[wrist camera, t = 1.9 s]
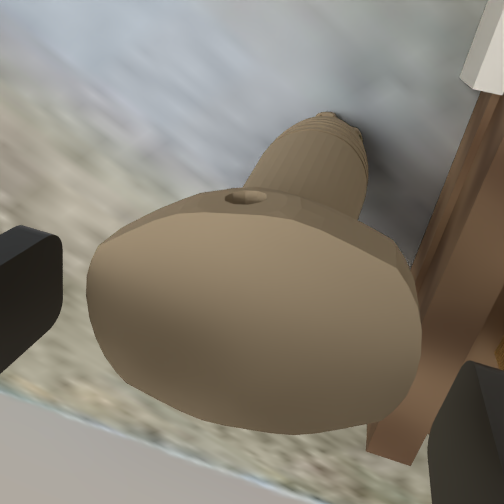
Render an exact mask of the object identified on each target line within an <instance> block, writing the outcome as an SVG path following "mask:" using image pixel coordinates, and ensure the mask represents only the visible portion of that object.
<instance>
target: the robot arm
mask: <svg viewBox="0 0 504 504" xmlns="http://www.w3.org/2000/svg"><path fill="white" fill-rule="evenodd" d="M62 302H63V249H62V242H61V240H60V238H59V237H58V236H56V235H53V234H50V233H47V232H43V231H40V230H36V229H33V228H30V227H26V226H23V225H19V226H16V227H14V228H12V229H10V230H8V231H6V232H4V233H3V234H1V235H0V374H1V373H2V372H3V371H4V370H5V369H6V368H7V367H8V366H10V365H11V364H12V363H13V362H14V361H15V360H16V359H17V358H18V357H19V356H21V355H22V354H23V353H24V352H25V351H26V350H27V349H28V348H29V347H31V346H32V345H33V344H34V343H35V342H36V341H37V340H38V339H39V338H41V337H42V336H43V335H44V334H45V333H46V332H47V331H48V330H49V329H50V328H51V327H52V326H53V325H54V323H55V322H56V320H57V318H58V316H59V314H60V311H61V307H62ZM427 454H428V465H429V476H430V486H431V496H432V504H504V370H501V369H498V368H494V367H491V366H487V365H484V364H481V363H477V362H474V361H471V360H469V361H466V362H465V363H464V364H463V365H462V367H461V369H460V370H459V372H458V374H457V376H456V378H455V380H454V382H453V384H452V386H451V388H450V390H449V392H448V394H447V396H446V398H445V400H444V402H443V404H442V406H441V408H440V410H439V412H438V414H437V415H436V417H435V420H434V422H433V424H432V427H431V431H430V435H429V440H428V452H427Z"/></svg>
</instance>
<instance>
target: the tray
mask: <svg viewBox="0 0 504 504" xmlns="http://www.w3.org/2000/svg"><path fill="white" fill-rule="evenodd" d="M459 78H460V79H461V80H462V81H464V82H465V83H466V84H467V85H468V86H470V87H471V88H472V89H475V90H479V91H484V92H488V93H493V94H498V95H503V93H504V0H488V1H487V4H486V6H485V9H484V12H483V15H482V17H481V20H480V23H479V25H478V28H477V31H476V34H475V36H474V39H473V42H472V44H471V47H470V50H469V53H468V55H467V58H466V61H465V63H464V66H463V69H462V72H461V74H460V77H459Z"/></svg>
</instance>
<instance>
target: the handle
mask: <svg viewBox="0 0 504 504" xmlns="http://www.w3.org/2000/svg"><path fill="white" fill-rule="evenodd" d="M362 141H363V139H362V135H361V133H360V131H359V129H358V128H356V127H351V126H350V125H348V124H347V123H346V122H344V121H343V120H340V119H338V118H337V117H336V114H335V113H332V112H321V113H319V114H317V115H316V117H312V118H308V119H305V120H303V121H301V122H299V123H297V124H295V125H293V126H292V127H290V128H289V129H287V130H286V131H285V132H283V133H282V134H281V135H280V136H279V137H278V138H276V140H275V141H274V142H273V143H272V144H271V145H270V146H269V147H268V148H267V150H266V151H265V152H264V153H263V155H262V156H261V158H260V160H259V161H258V163H257V165H256V166H255V168H254V170H253V171H252V173H251V175H250V176H249V178H248V179H247V181H246V183H245V184H244V186H243V187H242V188H231V189H226V190H219V191H212V192H204V193H199V194H196V195H194V196H191V197H188V198H185V199H182V200H180V201H177V202H175V203H172V204H170V205H168V206H165V207H163V208H160V209H158V210H156V211H154V212H152V213H150V214H148V215H146V216H144V217H142V218H140V219H138V220H136V221H134V222H132V223H130V224H128V225H126V226H124V227H123V228H121V229H119V230H118V231H117V232H115V233H114V234H113V235H111V236H110V237H109V238H108V239H106V240H105V241H104V242H103V243H101V244H100V245H99V246H98V247H97V249H96V252H95V254H94V256H93V258H92V260H91V263H90V267H89V270H88V274H87V286H86V298H87V304H88V311H89V317H90V321H91V324H92V327H93V330H94V334H95V337H96V339H97V341H98V343H99V345H100V348H101V350H102V352H103V354H104V356H105V357H106V359H107V360H108V361H109V363H110V364H111V366H112V367H113V368H114V370H115V371H116V372H117V373H118V374H119V376H120V377H121V378H122V379H123V380H124V381H125V382H126V383H127V384H129V385H131V386H133V387H135V388H137V389H139V390H140V391H142V392H144V393H146V394H148V395H150V396H152V397H154V398H156V399H157V400H159V401H161V402H163V403H165V404H167V405H169V406H171V407H173V408H175V409H177V410H179V411H181V412H184V413H186V414H188V415H191V416H193V417H196V418H198V419H201V420H204V421H208V422H212V423H216V424H220V425H225V426H231V427H237V428H243V429H249V430H255V431H261V432H267V433H276V434H288V435H300V434H313V433H321V432H326V431H332V430H338V429H343V428H348V427H353V426H358V425H363V424H368V423H373V422H378V421H382V420H383V419H384V418H385V417H387V416H388V415H389V414H390V413H391V412H393V411H394V410H395V409H396V408H397V406H398V405H399V404H400V403H401V402H402V401H403V400H404V398H405V397H406V396H407V394H408V392H409V390H410V388H411V386H412V384H413V381H414V379H415V377H416V373H417V369H418V365H419V361H420V357H421V339H422V328H421V319H420V311H419V304H418V298H417V292H416V287H415V281H414V278H413V275H412V273H411V271H410V268H409V266H408V264H407V262H406V260H405V257H404V256H403V254H402V253H401V251H400V250H399V248H398V247H397V245H396V243H395V242H394V241H393V240H392V239H390V238H389V237H387V236H385V235H383V234H382V233H380V232H378V231H376V230H375V229H373V228H371V227H369V226H367V225H365V224H364V223H362V222H360V221H358V218H359V215H360V212H361V209H362V206H363V203H364V200H365V197H366V190H367V183H368V162H367V156H366V151H365V148H364V146H363V143H362Z"/></svg>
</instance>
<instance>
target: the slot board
mask: <svg viewBox="0 0 504 504" xmlns="http://www.w3.org/2000/svg"><path fill="white" fill-rule="evenodd" d="M410 271H411V273H412V275H413V278H414V281H415V287H416V292H417V298H418V304H419V311H420V319H421V328H422V339H421V357H420V361H419V365H418V369H417V373H416V377H415V379H414V381H413V384H412V386H411V388H410V390H409V392H408V394H407V396H406V397H405V398H404V400H403V401H402V402H401V403H400V404H399V405H398V406H397V408H396V409H395V410H394V411H393V412H391V413H390V414H389V415H388V416H387V417H385V418H384V419H383V420H382V421H378V422H373V423H368V424H367V441H366V451H367V452H370V453H373V454H376V455H379V456H382V457H385V458H388V459H391V460H394V461H397V462H400V463H403V464H406V465H409V466H411V464H412V462H413V460H414V458H415V457H416V455H417V453H418V451H419V449H420V447H421V445H422V443H423V441H424V439H425V437H426V435H427V434H430V431H431V427H432V424H433V422H434V420H435V417H436V415H437V414H438V412H439V410H440V408H441V406H442V404H443V402H444V400H445V398H446V396H447V394H448V392H449V390H450V388H451V386H452V384H453V382H454V380H455V378H456V376H457V374H458V372H459V370H460V369H461V367H462V365H463V364H464V363H465V362H466V361H469V360H471V361H474V362H477V363H481V364H484V365H487V366H491V367H494V368H498V369H499V367H498V364H497V360H496V357H495V354H494V352H495V350H496V348H497V347H498V345H499V343H500V341H501V339H502V338H503V336H504V93H503V95H498V94H493V93H488V92H484V91H481V92H480V95H479V97H478V100H477V103H476V105H475V108H474V110H473V113H472V115H471V118H470V120H469V123H468V125H467V128H466V130H465V133H464V135H463V138H462V140H461V143H460V146H459V148H458V151H457V153H456V156H455V158H454V161H453V163H452V166H451V168H450V171H449V173H448V176H447V178H446V181H445V183H444V186H443V189H442V191H441V194H440V196H439V199H438V201H437V204H436V206H435V209H434V211H433V214H432V216H431V219H430V221H429V224H428V227H427V229H426V232H425V234H424V237H423V239H422V242H421V244H420V247H419V249H418V252H417V254H416V257H415V259H414V262H413V264H412V267H411V270H410Z"/></svg>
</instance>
